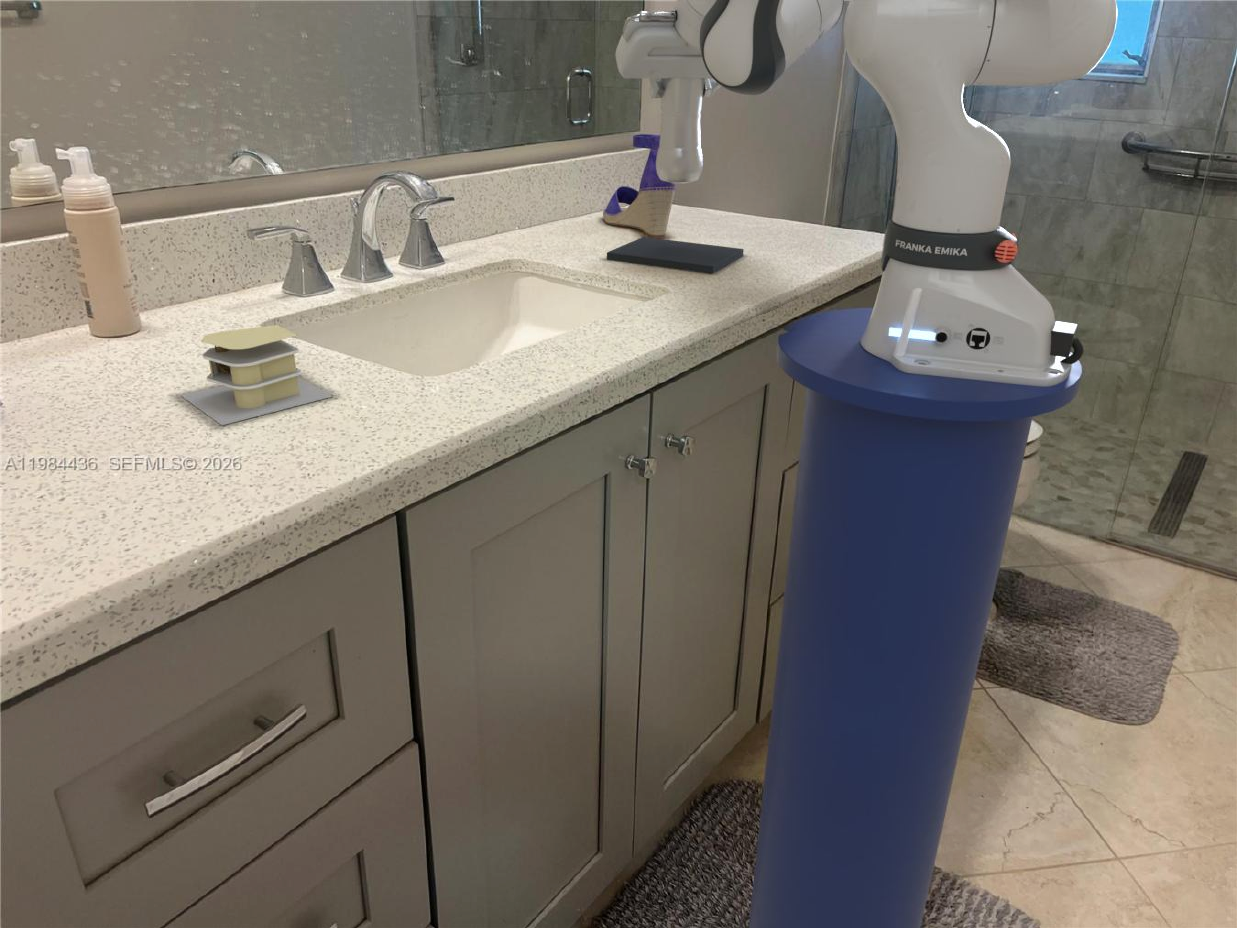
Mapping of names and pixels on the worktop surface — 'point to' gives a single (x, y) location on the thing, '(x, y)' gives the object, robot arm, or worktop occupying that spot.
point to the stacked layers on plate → (252, 375)
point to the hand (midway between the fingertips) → (681, 94)
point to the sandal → (643, 196)
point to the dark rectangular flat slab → (676, 254)
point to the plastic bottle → (680, 131)
